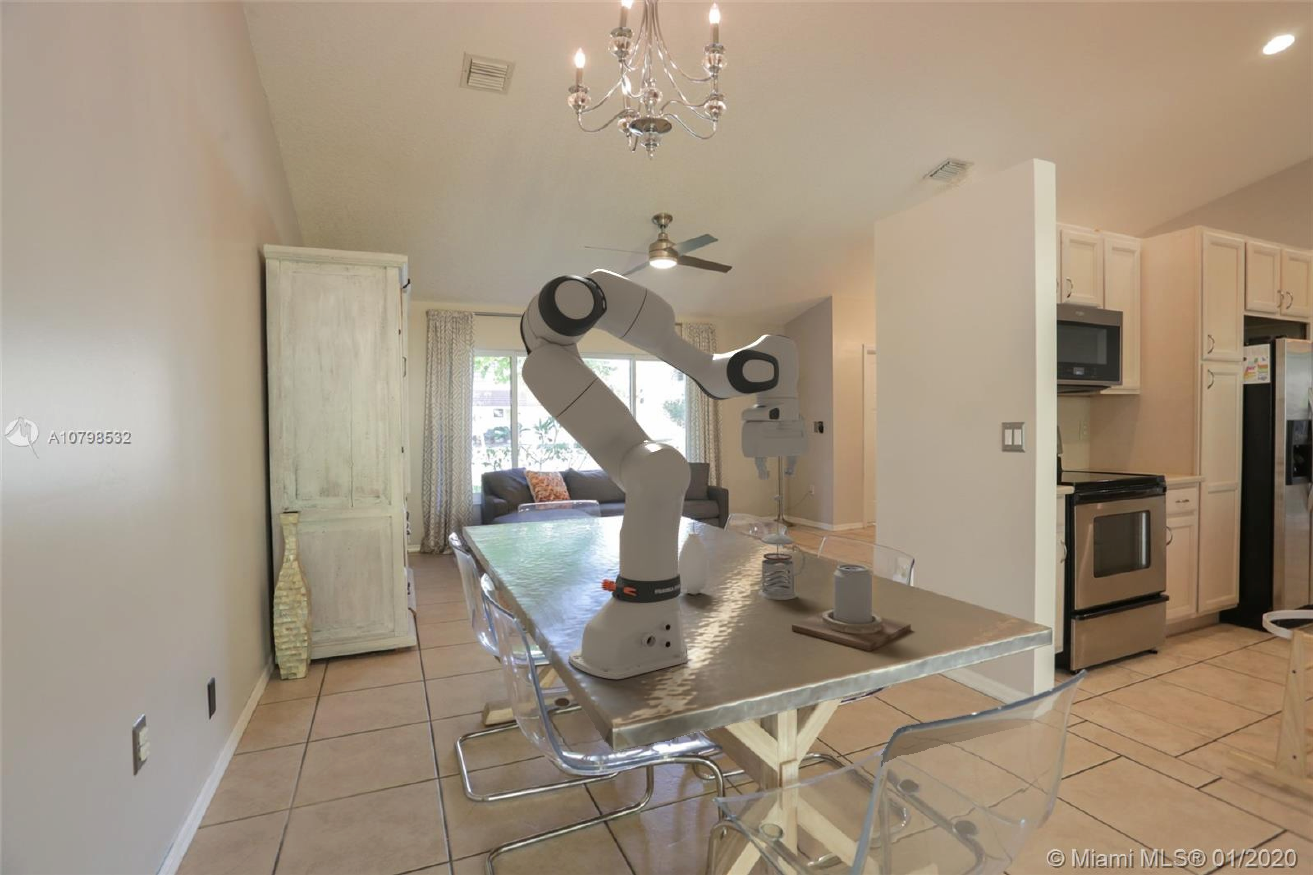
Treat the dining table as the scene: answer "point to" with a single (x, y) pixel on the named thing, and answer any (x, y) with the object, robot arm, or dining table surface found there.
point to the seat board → (852, 637)
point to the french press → (778, 568)
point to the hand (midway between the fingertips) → (777, 478)
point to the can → (853, 594)
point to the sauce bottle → (693, 564)
